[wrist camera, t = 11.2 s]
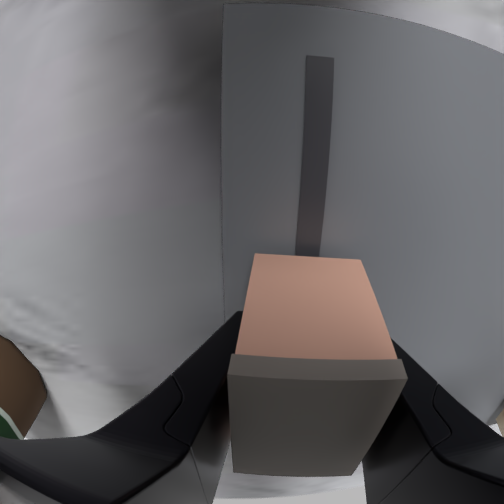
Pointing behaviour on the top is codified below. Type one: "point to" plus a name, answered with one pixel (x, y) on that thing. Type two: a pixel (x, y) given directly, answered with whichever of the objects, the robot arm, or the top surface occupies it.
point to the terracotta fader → (309, 369)
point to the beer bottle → (18, 392)
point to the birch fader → (501, 422)
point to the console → (373, 174)
